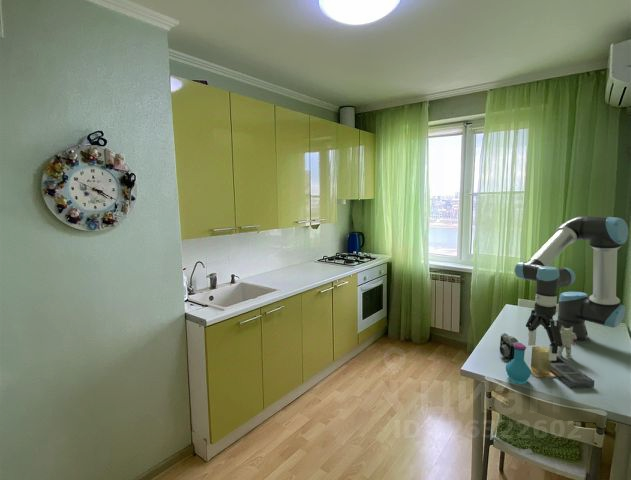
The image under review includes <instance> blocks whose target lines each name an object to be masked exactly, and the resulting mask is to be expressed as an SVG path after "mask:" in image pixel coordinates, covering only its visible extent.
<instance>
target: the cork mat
mask: <svg viewBox="0 0 631 480" xmlns="http://www.w3.org/2000/svg"><path fill="white" fill-rule="evenodd" d="M528 367H529V368H530V370H531V375H532V376H534V377H535V378H537V379H539V378H540V379H541V378H548V379H550V378H553V379H554V378H557V377H556V376H555V375H554V374H552V373H551V372H550V374H539V375H538V374H537V373H536V372H534V371H533V370H532V369H531V366H528Z"/></svg>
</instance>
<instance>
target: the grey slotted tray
mask: <svg viewBox="0 0 631 480" xmlns="http://www.w3.org/2000/svg"><path fill="white" fill-rule="evenodd" d="M550 372H551V373H552V374H554V375H555V376H556V377H555V378H557V379H558V380H559V381H561V382H562V383H563V384H565V386H567V387H568V388H570V389H594V388H595V380H594V379H592V378H591V377H590V376H588V375H586V374H585V373H584V372H582V371H581V370H579V369H578V368H576V367H575V366H574V365H572V364H571V363H570V362H569V361H567V360H565V359H563V358H562V356H561V357H559V356H558V355H557V358H556V360H553V361H551V367H550Z"/></svg>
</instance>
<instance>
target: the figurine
mask: <svg viewBox="0 0 631 480" xmlns="http://www.w3.org/2000/svg"><path fill="white" fill-rule="evenodd" d="M561 330H562V331H560V335H561V339H562V344H563V346H558V353H557V355H558V356H559V357H561V358H562V356H563V353H564V348H565V353H564V354H565V357H566V358H568V359H572V355H571V354H572V346H573V347H576V346H577V344H576V343H577V342H578V341H577V340H576V339H577V337H576V334H575V333H573V332H572V331H573V327H571V328H568V329H566V328H564V327H563V326H561Z"/></svg>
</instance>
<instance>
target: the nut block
mask: <svg viewBox="0 0 631 480" xmlns="http://www.w3.org/2000/svg"><path fill="white" fill-rule="evenodd" d="M531 348H532V349H531V358H530V359H531V360H530V367H531V369H532V370H533V371H534V372H536V373H537V374H538V375H539V374H550V367H551V363H552V362H551V361H550V360H548V358H549V348H547V347H545V346H532V347H531Z"/></svg>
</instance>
